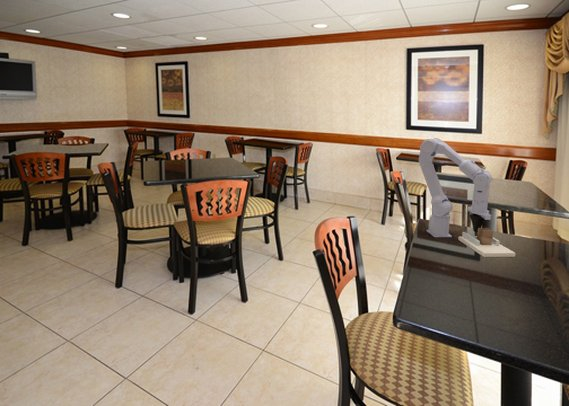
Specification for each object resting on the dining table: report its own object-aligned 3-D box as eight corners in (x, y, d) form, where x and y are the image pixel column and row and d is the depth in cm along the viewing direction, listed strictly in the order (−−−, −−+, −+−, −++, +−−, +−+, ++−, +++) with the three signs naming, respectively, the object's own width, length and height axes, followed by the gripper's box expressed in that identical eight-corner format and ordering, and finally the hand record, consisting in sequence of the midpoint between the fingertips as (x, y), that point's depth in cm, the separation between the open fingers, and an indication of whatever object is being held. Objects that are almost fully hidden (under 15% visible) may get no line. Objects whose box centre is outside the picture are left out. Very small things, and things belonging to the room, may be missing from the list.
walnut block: (476, 241, 147) (478, 227, 145) (485, 241, 147) (487, 227, 145) (481, 245, 143) (483, 230, 141) (491, 244, 143) (493, 230, 141)
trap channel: (458, 239, 154) (459, 231, 153) (485, 239, 154) (486, 231, 153) (483, 257, 134) (484, 248, 134) (515, 256, 134) (516, 248, 134)
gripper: (500, 204, 140) (495, 236, 143) (480, 196, 154) (476, 226, 157) (482, 204, 140) (478, 237, 143) (464, 197, 154) (461, 226, 157)
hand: (476, 231), depth 150 cm, fingers closed
